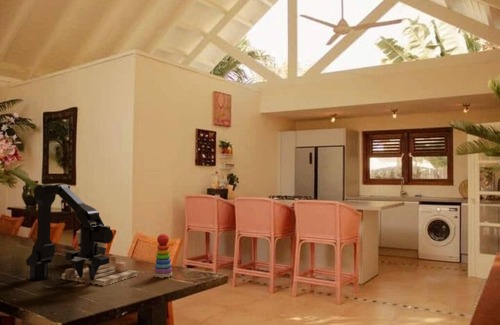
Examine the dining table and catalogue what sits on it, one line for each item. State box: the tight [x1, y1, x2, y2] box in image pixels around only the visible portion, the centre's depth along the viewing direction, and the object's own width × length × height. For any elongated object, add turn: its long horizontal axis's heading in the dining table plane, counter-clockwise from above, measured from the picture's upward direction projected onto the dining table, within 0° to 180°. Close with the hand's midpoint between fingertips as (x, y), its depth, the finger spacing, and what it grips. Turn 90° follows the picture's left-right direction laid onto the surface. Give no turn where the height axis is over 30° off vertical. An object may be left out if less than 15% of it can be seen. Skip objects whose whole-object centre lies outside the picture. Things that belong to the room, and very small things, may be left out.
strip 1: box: [64, 265, 110, 281], centre depth 184 cm, size 22×3×4 cm, turn 154°
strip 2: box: [84, 268, 128, 284], centre depth 179 cm, size 22×3×4 cm, turn 154°
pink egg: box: [114, 261, 126, 272], centre depth 186 cm, size 4×4×4 cm
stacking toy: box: [153, 233, 173, 279], centre depth 187 cm, size 8×8×19 cm
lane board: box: [61, 265, 139, 287], centre depth 182 cm, size 22×24×2 cm
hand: (86, 278), depth 171 cm, fingers open, 6 cm apart
